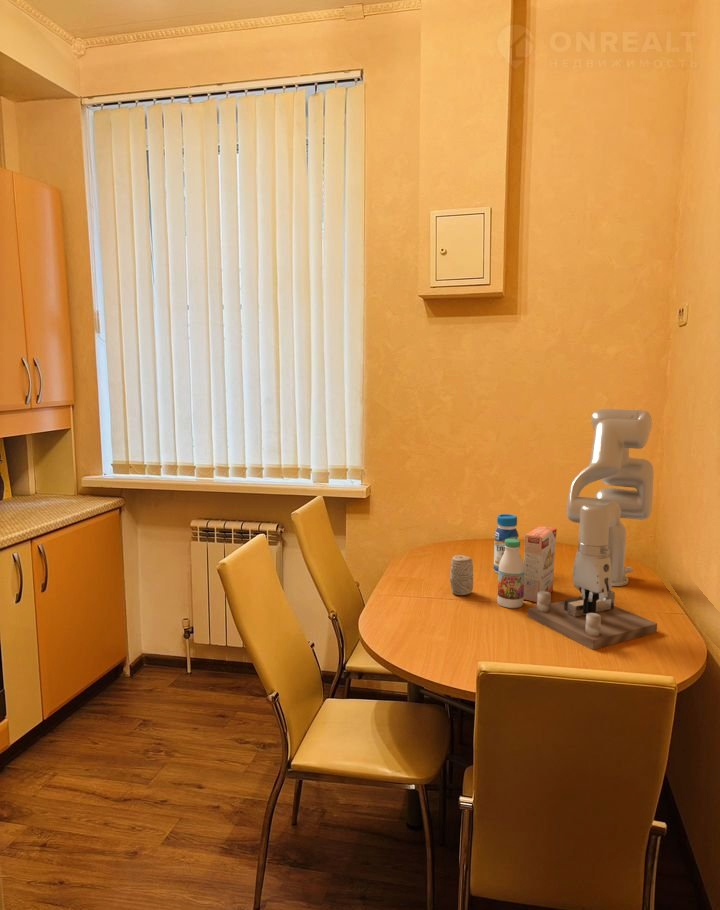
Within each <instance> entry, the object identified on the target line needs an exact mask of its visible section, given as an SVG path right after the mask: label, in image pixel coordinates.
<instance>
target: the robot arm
mask: <svg viewBox="0 0 720 910" xmlns="http://www.w3.org/2000/svg"><path fill="white" fill-rule="evenodd" d="M590 419H591V425H592V429H593V430H594V432H593V437H592V446H591V452H590V461H589V464H588V465H587V466H586V467H584V468H583V469H582V470H581V471H580V472H579V473H578V474H577V475H576V476H575V478H574V479H573V480H572V482H571V484H570V486H569V490H568V496H567V502H566V509H565V510H566V517H567V518H568V521H570V522H571V523H576V524H578V525H579V528H578V529H579V530H578V549H577V551H576V553H575V558H574V563H573V567H572V568H573V569H572V582H573V584H574V585H573V586H574V588H576V589H577V590H578V591H579V592H580V594H581V597H582V599H584V602H583V613H584V614H587V613H596V601H597V600H599V598H602V599H604V598H607V597H608V594H607V591H612V587H623V586H627V584H628V583H629V578H628V577H627V576H626V574H628V573H632V572H633V571H634V569H633V567H632V566H627V567H626V566H625V560H626V559H625V558H626V542H627V528H626V527H625V526H624V524H623V522H622V521H621V520H620V519H628V520H636V521H637V520H639V521H644V520H647V519H649V518H650V516H651V514H652V510H653V498H654V497H653V494H654V467H653V464H652V462H651V461H650V460H649V459H646V458H645V459H644V458H635V457H634V458H633V457H630V449H633V450H634V449H636V450H637V449H638V450H639V449H644V448H645V447H646V445H647V443H648V441H649V436H650V433H651V430H652V426H653V425H652V424H653V423H652V415H651V414H650V413H649V412H648V411H646V410H636V409H617V408H616V409H614V408H612V409H611V408H604V409H597V410H594V412H593V413H592V414H591V418H590ZM599 480H600V481H601V482H602V483H603V484H605V485H607V486H613V487H616V488H613V487H605V488H601V489H599V490H597V492H596V493H595V495H594V497H586V496H580V494H581V491H582V490H583V489H584V488H585V487H587V486H588V485H590V484H592V483H594V482H597V481H599ZM617 487H623V488H617ZM624 488H634V489H624Z"/></svg>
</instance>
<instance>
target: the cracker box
mask: <svg viewBox="0 0 720 910" xmlns="http://www.w3.org/2000/svg"><path fill="white" fill-rule="evenodd" d="M557 532H558V531H557V528H556V527H551V526H543V525H539V526H537V527H536V528H535V529H532V530H531V531H529V532H527V533H526V534H524V551H523V552H524V554H523V563H524V598H523V601H524V600H525V601H530V602H534V603H537V595H538V592H540V591H545V592H549V593H550V594H551V592H553V591H554V578H555V577H554V575H555V574H554V573H555V559H556V546H557V545H556V544H557V543H556V542H557Z"/></svg>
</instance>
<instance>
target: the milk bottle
mask: <svg viewBox="0 0 720 910" xmlns="http://www.w3.org/2000/svg"><path fill="white" fill-rule="evenodd" d="M504 547H505V552H504V554H503V557H502V558H501V560H500V563H499V571H498V573H497V574H498V575H497V596H496V597H497V601H496V602H497V604H498V605H499V606H500V607H503V608H509V609H518V608H521V607H522V606H523V605H524V599H523V598H524V559H522V556H521V554H520V553H521V552H520V549H521V540H519V539H518V540H517V539H506V540H505V546H504Z"/></svg>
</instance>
